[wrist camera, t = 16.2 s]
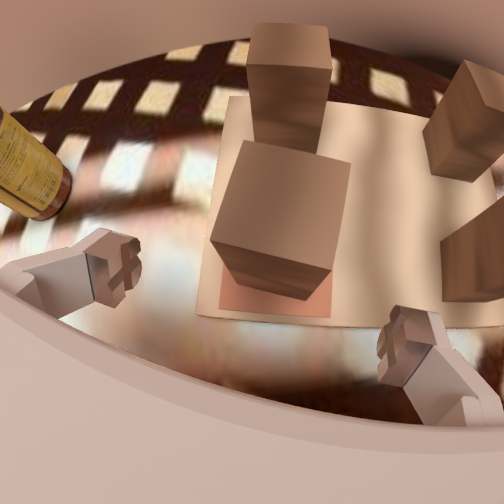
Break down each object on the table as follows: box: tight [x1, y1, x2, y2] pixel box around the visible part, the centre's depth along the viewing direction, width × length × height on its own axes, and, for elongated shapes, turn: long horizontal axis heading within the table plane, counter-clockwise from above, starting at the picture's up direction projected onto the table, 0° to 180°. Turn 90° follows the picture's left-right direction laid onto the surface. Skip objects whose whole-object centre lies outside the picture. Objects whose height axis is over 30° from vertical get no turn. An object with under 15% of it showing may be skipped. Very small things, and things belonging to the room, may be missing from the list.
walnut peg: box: [209, 140, 351, 301], centre depth 16 cm, size 4×4×9 cm
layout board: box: [196, 23, 504, 329], centre depth 17 cm, size 24×18×10 cm
